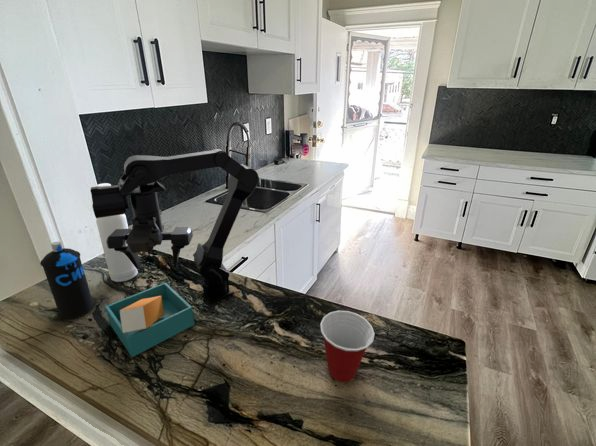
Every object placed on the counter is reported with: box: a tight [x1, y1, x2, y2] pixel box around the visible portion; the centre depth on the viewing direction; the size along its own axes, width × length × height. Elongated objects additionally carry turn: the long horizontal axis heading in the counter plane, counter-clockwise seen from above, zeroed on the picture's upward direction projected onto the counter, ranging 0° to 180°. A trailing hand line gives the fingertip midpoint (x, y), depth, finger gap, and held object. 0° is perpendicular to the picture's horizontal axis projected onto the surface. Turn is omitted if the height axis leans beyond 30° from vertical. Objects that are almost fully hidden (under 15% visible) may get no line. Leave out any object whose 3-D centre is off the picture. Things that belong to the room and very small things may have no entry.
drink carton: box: [120, 296, 164, 333], centre depth 75 cm, size 5×5×13 cm
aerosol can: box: [39, 241, 96, 320], centre depth 81 cm, size 8×8×20 cm
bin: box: [104, 282, 195, 358], centre depth 79 cm, size 15×15×6 cm
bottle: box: [95, 182, 139, 283], centre depth 95 cm, size 8×8×30 cm
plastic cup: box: [319, 310, 375, 383], centre depth 65 cm, size 11×11×12 cm
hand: (156, 267), depth 81 cm, fingers open, 9 cm apart
